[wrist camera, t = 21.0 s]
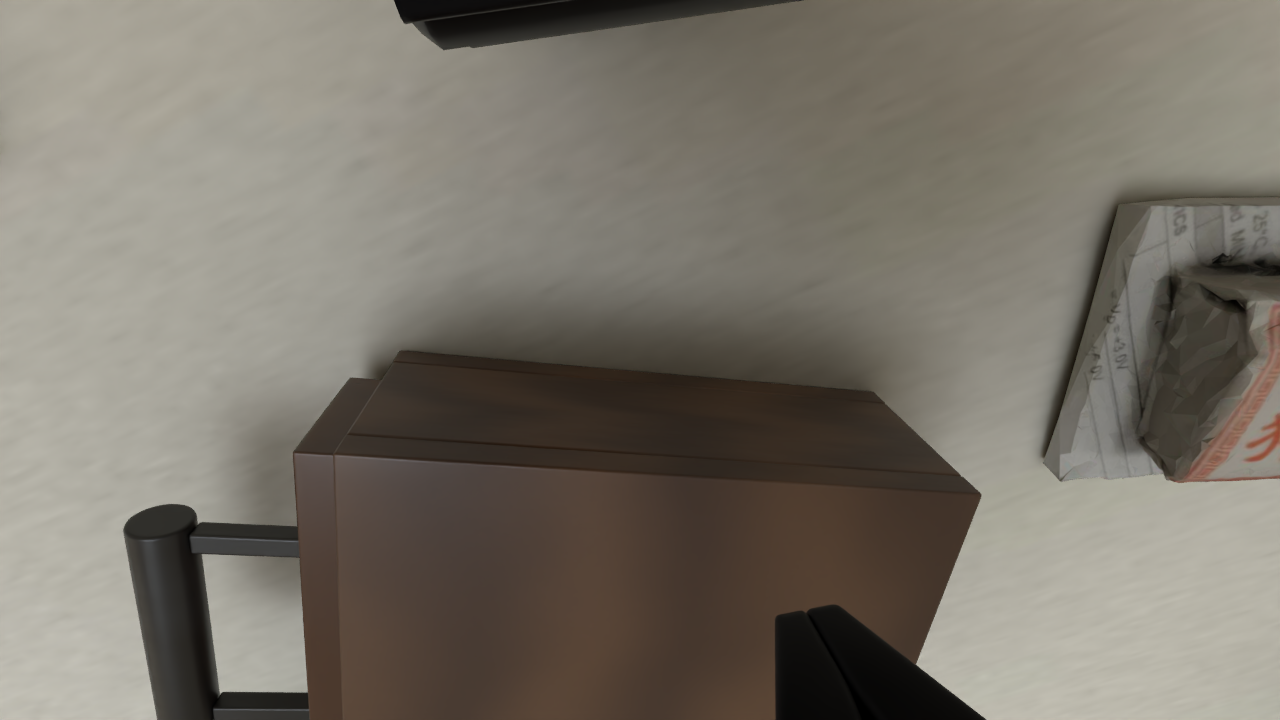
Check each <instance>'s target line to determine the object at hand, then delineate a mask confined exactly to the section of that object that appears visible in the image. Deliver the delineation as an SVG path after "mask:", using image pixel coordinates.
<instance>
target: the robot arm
mask: <svg viewBox="0 0 1280 720" xmlns="http://www.w3.org/2000/svg"><path fill="white" fill-rule="evenodd" d="M394 1H395V4H396V7H397V9H398V12H399V14H400V17H401V19H402V21H403V22H404V23H405V24H408V23H413V24H414V26H415V27H416V28H417V29H418V30H419V31H420V32H421V33H422V34H423V35H424V36H426V37H427V38H428V39H430V40H431V41H432V42H434V43H435V44H436V45H438V46H439V47H440V48H441V49H443V50H448V49H454V48H461V47H468V46H469V47H471V48H477V47H484V46H490V45H497V44H504V43H511V42H518V41H525V40H532V39H539V38H546V37H553V36H560V35H567V34H574V33H580V32H587V31H594V30H601V29H608V28H615V27H622V26H629V25H636V24H643V23H650V22H657V21H664V20H671V19H677V18H684V17H691V16H698V15H705V14H712V13H719V12H726V11H733V10H740V9H747V8H754V7H761V6H768V5H774V4H781V3H788V2H795V1H802V0H394ZM775 720H986V719H985V718H983V717H982V716H981V715H980V714H978V713H977V712H976V711H974V710H973V709H972V708H971V707H969V706H968V705H967V704H965V703H964V702H963V701H962V700H960V699H959V698H958V697H956V696H955V695H954V694H953V693H951V692H950V691H949V690H947V689H946V688H945V687H944V686H942V685H941V684H940V683H938V682H937V681H936V680H935V679H933V678H932V677H931V676H929V675H928V674H927V673H926V672H924V671H923V670H922V669H920V668H919V667H918V666H917V665H915V664H914V663H913V662H911V661H910V660H909V659H908V658H906V657H905V656H904V655H902V654H901V653H900V652H899V651H897V650H896V649H895V648H893V647H892V646H891V645H890V644H888V643H887V642H886V641H884V640H883V639H882V638H881V637H879V636H878V635H877V634H875V633H874V632H873V631H871V630H870V629H869V628H868V627H866V626H865V625H864V624H862V623H861V622H860V621H859V620H857V619H856V618H855V617H853V616H852V615H851V614H850V613H848V612H847V611H846V610H844V609H843V608H842V607H840V606H838V605H835V604H831V605H826V606H821V607H816V608H811V609H809V610H808V611H807V613H806V612H804V611H795V612H790V613H785V614H779V615H777V616H776V618H775Z"/></svg>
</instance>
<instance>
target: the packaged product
mask: <svg viewBox="0 0 1280 720" xmlns="http://www.w3.org/2000/svg"><path fill="white" fill-rule="evenodd" d="M1043 463H1044V464H1045V465H1046V466H1047V468H1048V469H1049V470H1050V471H1051V472H1052V473H1053V474H1054V475H1055V476H1056V477H1057V478H1058V479H1059V480H1060V481H1061V482H1062V481H1067V480H1073V479H1084V478H1103V479H1118V478H1128V477H1139V476H1145V475H1152V474H1164V476H1165V478H1166V480H1171V481H1174V482H1177V483H1184V482H1209V481H1239V480H1258V479H1277V478H1280V197H1249V198H1181V199H1170V200H1159V201H1148V202H1137V203H1126V204H1119V206H1118V210H1117V214H1116V217H1115V221H1114V225H1113V228H1112V232H1111V236H1110V239H1109V243H1108V247H1107V250H1106V254H1105V258H1104V261H1103V265H1102V269H1101V272H1100V276H1099V280H1098V283H1097V287H1096V291H1095V294H1094V298H1093V302H1092V305H1091V309H1090V312H1089V316H1088V319H1087V323H1086V326H1085V330H1084V333H1083V337H1082V340H1081V343H1080V347H1079V350H1078V354H1077V357H1076V361H1075V364H1074V368H1073V371H1072V375H1071V378H1070V381H1069V385H1068V388H1067V392H1066V395H1065V399H1064V402H1063V406H1062V409H1061V413H1060V416H1059V419H1058V422H1057V425H1056V428H1055V430H1054V433H1053V436H1052V439H1051V442H1050V445H1049V448H1048V450H1047V453H1046V456H1045V459H1044V462H1043Z"/></svg>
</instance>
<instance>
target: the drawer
mask: <svg viewBox="0 0 1280 720" xmlns="http://www.w3.org/2000/svg"><path fill="white" fill-rule="evenodd" d="M380 382H381V380H375V379H362V378H349V380H348V381H347V382H346V384H345V385H344V386H343V388H342V389H341V390H340V391H339V393H338V394H337V395H336V397H335V398H334V399H333V401H332V402H331V403H330V404H329V406H328V407H327V408H326V410H325V411H324V412H323V414H322V415H321V416H320V417H319V419H318V420H317V421H316V423H315V424H314V425H313V427H312V428H311V429H310V431H309V432H308V433H307V434H306V436H305V437H304V438H303V440H302V441H301V442H300V444H299V445H298V446H297V447H296V449H295V450H294V451H293V463H294V479H295V495H296V511H297V526H298V527H296V526H275V525H253V524H231V523H209V522H201V523H199V524H198V522H197V515H196V513H195V511H194V510H193V509H192V508H190V507H188V506H185V505H180V504H167V505H160V506H155V507H152V508H149V509H146V510H143V511H141V512H139V513H137V514H135V515H134V516H133V517H131V518H130V519H129V520H128V521H127V522H126V524H125V526H124V529H123V532H124V538H125V543H126V549H127V554H128V560H129V565H130V571H131V576H132V582H133V588H134V593H135V599H136V604H137V610H138V615H139V621H140V626H141V632H142V637H143V643H144V649H145V654H146V660H147V665H148V671H149V676H150V682H151V687H152V693H153V698H154V704H155V709H156V715H157V720H343V713H342V686H341V659H340V632H339V605H338V578H337V551H336V524H335V497H334V470H333V454H334V452H335V450H336V449H337V447H338V446H339V444H340V443H341V441H342V440H343V438H344V436H346V434H347V432H348V431H349V429H350V428H351V426H352V425H353V423H354V422H355V420H356V419H357V417H358V416H359V414H360V412H361V411H362V409H363V408H364V406H365V405H366V403H367V402H368V400H369V399H370V397H371V396H372V394H373V392H374V391H375V389H376V388H377V386H378V385H379V383H380ZM202 554H219V555H245V556H271V557H296V558H300V574H301V590H302V606H303V622H304V638H305V654H306V670H307V686H308V693H284V692H222V693H221V695H220V692H219V684H218V676H217V668H216V661H215V653H214V645H213V638H212V630H211V622H210V614H209V607H208V599H207V591H206V584H205V576H204V568H203V560H202Z"/></svg>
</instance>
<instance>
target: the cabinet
mask: <svg viewBox="0 0 1280 720" xmlns="http://www.w3.org/2000/svg"><path fill="white" fill-rule="evenodd" d="M333 470H334V497H335V524H336V551H337V578H338V605H339V632H340V659H341V686H342V713H343V720H775V618H776V616H777V615H779V614H785V613H790V612H795V611H804V612H806V613H807V611H808V610H809V609H811V608H816V607H821V606H826V605H831V604H835V605H838V606H840V607H842V608H843V609H844V610H846V611H847V612H848V613H850V614H851V615H852V616H853V617H855V618H856V619H857V620H859V621H860V622H861V623H862V624H864V625H865V626H866V627H868V628H869V629H870V630H871V631H873V632H874V633H875V634H877V635H878V636H879V637H881V638H882V639H883V640H884V641H886V642H887V643H888V644H890V645H891V646H892V647H893V648H895V649H896V650H897V651H899V652H900V653H901V654H902V655H904V656H905V657H906V658H908V659H909V660H910V661H911V662H913V663H914V664H915V665H916V663H917V660H918V658H919V655H920V652H921V650H922V647H923V645H924V642H925V640H926V637H927V635H928V632H929V629H930V627H931V624H932V622H933V619H934V617H935V614H936V611H937V609H938V606H939V604H940V601H941V599H942V596H943V593H944V591H945V588H946V586H947V583H948V581H949V578H950V576H951V573H952V570H953V568H954V565H955V563H956V560H957V558H958V555H959V552H960V550H961V547H962V545H963V542H964V540H965V537H966V534H967V532H968V529H969V527H970V524H971V522H972V519H973V516H974V514H975V511H976V509H977V506H978V504H979V501H980V499H981V493H980V492H979V491H978V490H976V489H975V488H974V487H973V486H972V485H971V484H970V483H969V482H968V481H967V480H966V479H965V478H964V477H961V475H960V474H959V473H958V472H957V471H956V470H955V469H954V468H953V467H952V466H951V465H950V464H948V463H947V462H946V461H945V460H944V459H943V458H942V457H941V456H940V455H939V454H938V453H937V452H936V451H935V450H934V449H933V448H932V447H930V446H929V445H928V444H927V443H926V442H925V441H924V440H923V439H922V438H921V437H920V436H919V435H918V434H917V433H916V432H915V431H914V430H912V429H911V428H910V427H909V426H908V425H907V424H906V423H905V422H904V421H903V420H902V419H901V418H900V417H899V416H898V415H897V414H896V413H895V412H893V411H892V410H891V409H890V408H889V407H888V406H887V405H886V404H885V402H884V401H882V400H881V399H880V398H879V397H878V396H877V395H876V394H875V393H874V392H867V391H855V390H844V389H832V388H821V387H809V386H798V385H787V384H775V383H764V382H752V381H741V380H729V379H718V378H707V377H695V376H684V375H672V374H661V373H649V372H638V371H627V370H615V369H604V368H592V367H581V366H569V365H558V364H547V363H535V362H524V361H512V360H501V359H489V358H478V357H467V356H455V355H444V354H432V353H421V352H410V351H399V353H398V355H397V356H396V358H395V359H394V361H393V363H392V365H391V366H390V368H389V369H388V371H387V372H386V374H385V375H384V377H383V379H382V380H381V382H380V383H379V385H378V386H377V388H376V389H375V391H374V392H373V394H372V396H371V397H370V399H369V400H368V402H367V403H366V405H365V406H364V408H363V409H362V411H361V412H360V414H359V416H358V417H357V419H356V420H355V422H354V423H353V425H352V426H351V428H350V429H349V431H348V432H347V434H346V436H344V438H343V440H342V441H341V443H340V444H339V446H338V447H337V449H336V450H335V452H334V454H333Z"/></svg>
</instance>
